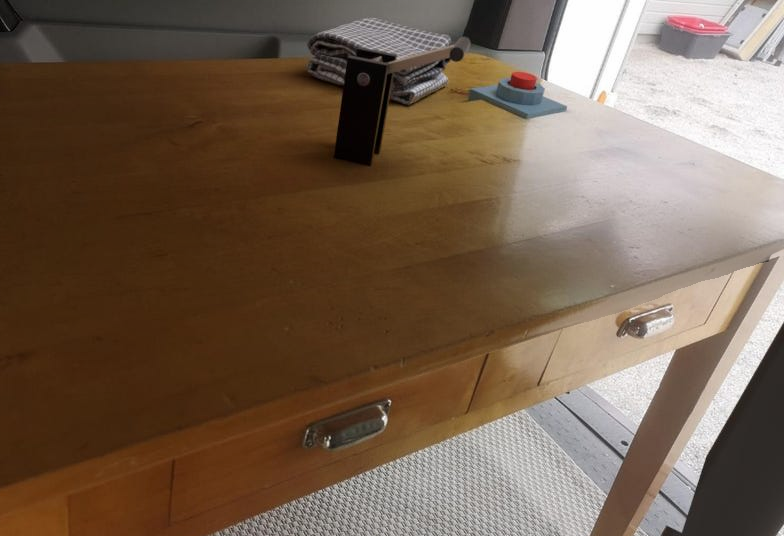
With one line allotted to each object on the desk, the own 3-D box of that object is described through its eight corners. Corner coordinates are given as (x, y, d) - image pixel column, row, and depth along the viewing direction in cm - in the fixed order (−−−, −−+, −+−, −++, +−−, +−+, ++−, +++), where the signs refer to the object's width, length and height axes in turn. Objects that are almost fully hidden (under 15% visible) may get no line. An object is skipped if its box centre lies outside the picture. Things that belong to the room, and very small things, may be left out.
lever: (472, 53, 82) (468, 30, 81) (466, 64, 78) (461, 40, 77) (366, 80, 87) (361, 59, 86) (355, 92, 83) (349, 70, 82)
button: (538, 90, 111) (542, 78, 110) (522, 93, 109) (526, 80, 108) (519, 82, 113) (522, 70, 112) (503, 85, 111) (506, 72, 110)
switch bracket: (412, 164, 92) (434, 56, 85) (396, 192, 85) (418, 77, 78) (318, 142, 95) (331, 36, 87) (295, 168, 88) (307, 54, 80)
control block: (563, 120, 112) (571, 93, 110) (523, 129, 107) (531, 101, 105) (506, 96, 119) (513, 70, 117) (466, 103, 114) (473, 76, 112)
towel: (351, 59, 126) (358, 9, 122) (452, 88, 119) (463, 36, 114) (301, 77, 116) (306, 23, 111) (407, 111, 108) (418, 54, 104)
